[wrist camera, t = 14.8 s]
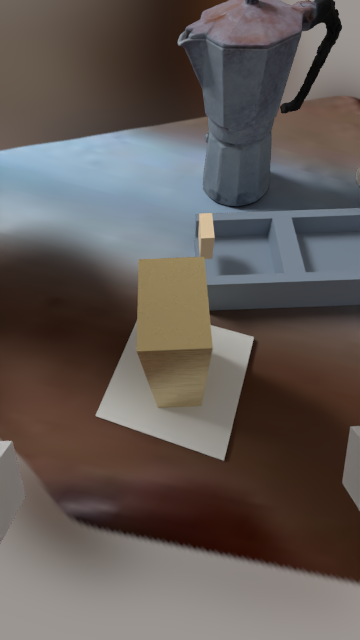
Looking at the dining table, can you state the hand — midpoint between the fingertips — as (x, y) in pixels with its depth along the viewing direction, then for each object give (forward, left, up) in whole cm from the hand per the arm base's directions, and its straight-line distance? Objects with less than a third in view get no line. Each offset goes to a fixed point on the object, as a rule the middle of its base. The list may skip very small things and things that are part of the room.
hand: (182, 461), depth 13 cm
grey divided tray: (+7, +24, -16) cm, 30 cm away
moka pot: (-4, +36, -17) cm, 40 cm away
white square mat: (-3, +8, -16) cm, 18 cm away
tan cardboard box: (-3, +8, -16) cm, 18 cm away
